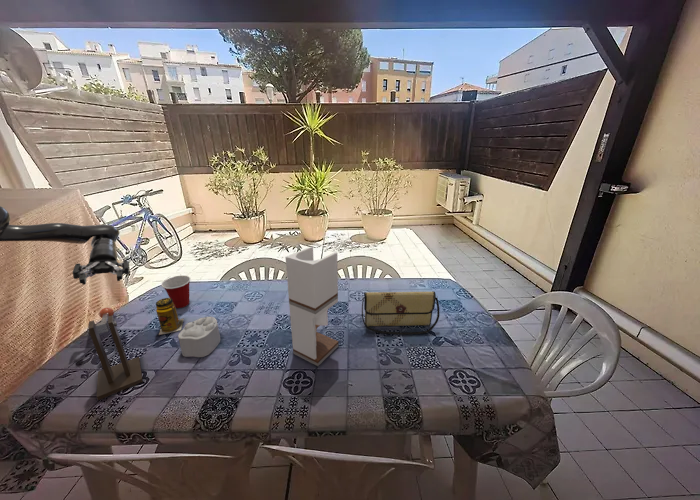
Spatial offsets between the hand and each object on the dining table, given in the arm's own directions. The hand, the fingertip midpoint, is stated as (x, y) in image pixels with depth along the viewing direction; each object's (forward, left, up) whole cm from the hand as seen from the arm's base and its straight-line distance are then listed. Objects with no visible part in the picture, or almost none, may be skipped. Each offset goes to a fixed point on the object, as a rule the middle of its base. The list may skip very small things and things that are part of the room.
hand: (101, 280), depth 90 cm
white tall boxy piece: (+51, -49, -24) cm, 75 cm away
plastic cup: (+21, +14, -24) cm, 35 cm away
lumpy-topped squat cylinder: (+22, -21, -24) cm, 39 cm away
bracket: (-1, -22, -24) cm, 33 cm away
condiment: (+15, -2, -24) cm, 29 cm away
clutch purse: (+83, -60, -24) cm, 105 cm away
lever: (-1, -15, -9) cm, 17 cm away
